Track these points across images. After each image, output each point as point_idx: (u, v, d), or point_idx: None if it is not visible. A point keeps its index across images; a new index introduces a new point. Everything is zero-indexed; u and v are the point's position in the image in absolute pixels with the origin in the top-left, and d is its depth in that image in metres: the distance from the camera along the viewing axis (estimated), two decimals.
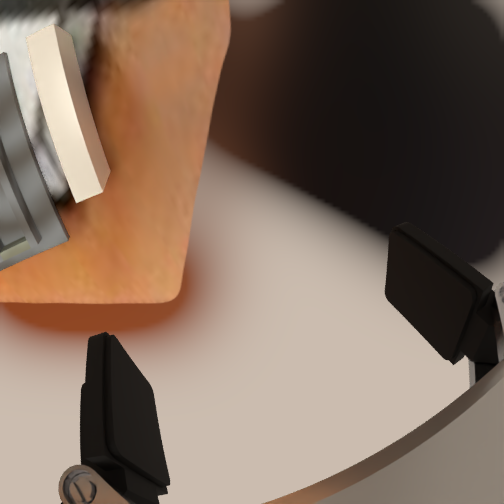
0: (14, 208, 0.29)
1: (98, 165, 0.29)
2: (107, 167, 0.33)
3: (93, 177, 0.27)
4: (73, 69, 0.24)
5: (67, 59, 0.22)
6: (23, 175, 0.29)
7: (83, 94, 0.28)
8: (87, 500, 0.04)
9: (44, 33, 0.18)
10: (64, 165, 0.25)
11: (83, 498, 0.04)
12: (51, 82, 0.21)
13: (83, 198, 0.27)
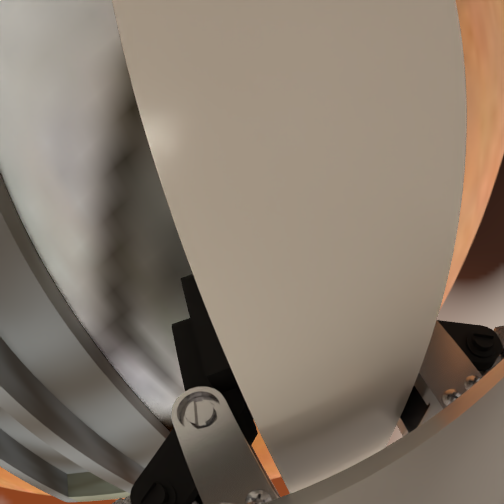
0: (93, 470, 0.12)
1: None
2: None
3: None
4: None
5: None
6: (92, 409, 0.13)
7: None
8: (199, 424, 0.06)
9: None
10: None
11: (195, 421, 0.06)
12: (359, 370, 0.04)
13: None
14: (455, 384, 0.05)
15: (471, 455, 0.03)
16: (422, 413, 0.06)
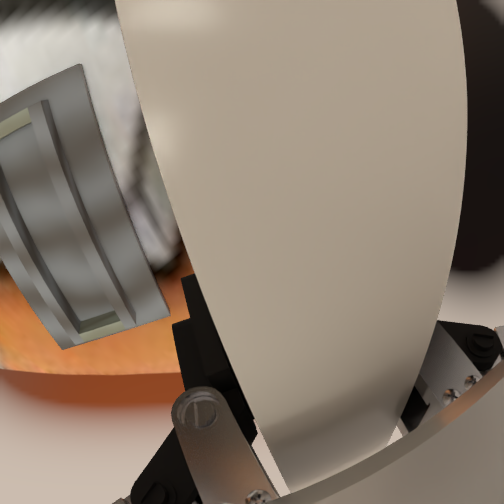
0: (105, 285, 0.26)
1: None
2: None
3: None
4: None
5: None
6: (113, 241, 0.27)
7: None
8: (199, 424, 0.06)
9: None
10: None
11: (195, 421, 0.06)
12: (360, 370, 0.04)
13: None
14: (455, 384, 0.05)
15: (471, 455, 0.03)
16: (422, 413, 0.06)
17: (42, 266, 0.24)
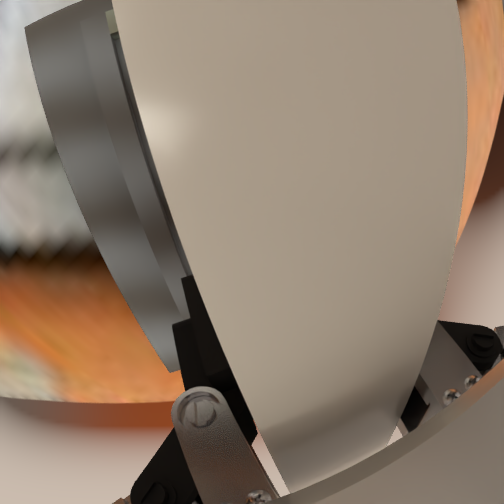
0: None
1: None
2: None
3: None
4: None
5: None
6: None
7: None
8: (199, 424, 0.06)
9: None
10: None
11: (195, 421, 0.06)
12: (360, 372, 0.04)
13: None
14: (455, 384, 0.05)
15: (471, 455, 0.03)
16: (422, 413, 0.06)
17: (178, 251, 0.18)
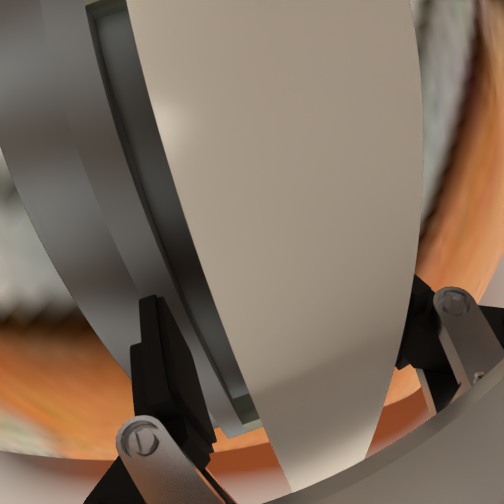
0: None
1: None
2: None
3: None
4: None
5: None
6: None
7: None
8: (144, 452, 0.05)
9: None
10: (298, 485, 0.09)
11: (140, 450, 0.05)
12: (338, 332, 0.05)
13: None
14: (503, 359, 0.05)
15: (471, 455, 0.03)
16: None
17: (195, 325, 0.13)
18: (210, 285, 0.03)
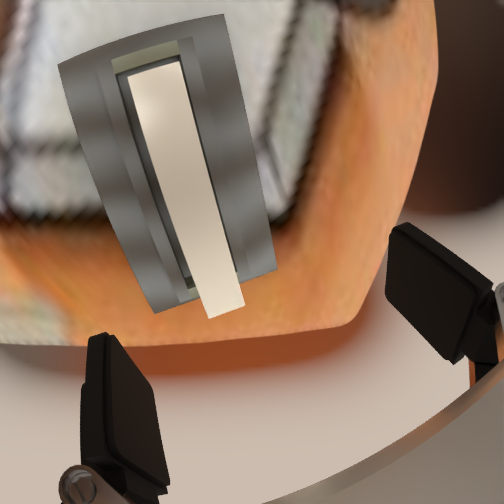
0: (231, 231, 0.28)
1: None
2: None
3: (235, 290, 0.24)
4: None
5: None
6: (239, 187, 0.28)
7: None
8: (87, 500, 0.04)
9: (163, 75, 0.15)
10: (196, 277, 0.22)
11: (84, 498, 0.04)
12: (179, 161, 0.18)
13: (219, 313, 0.24)
14: None
15: (471, 455, 0.03)
16: None
17: (159, 211, 0.26)
18: (146, 143, 0.17)
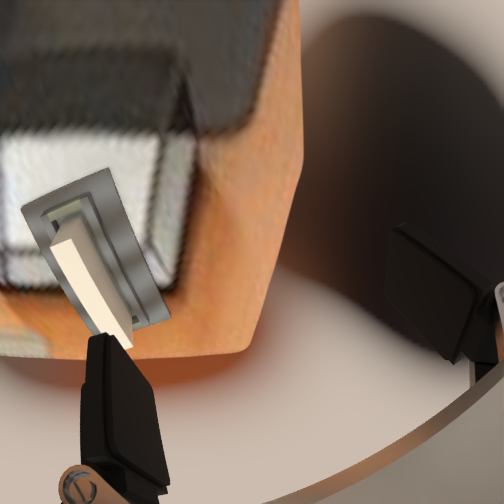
0: (130, 300, 0.44)
1: (126, 324, 0.41)
2: (129, 312, 0.46)
3: (125, 339, 0.40)
4: (92, 254, 0.37)
5: (87, 254, 0.35)
6: (135, 273, 0.44)
7: (103, 265, 0.40)
8: (87, 500, 0.04)
9: (65, 246, 0.31)
10: (103, 332, 0.38)
11: (84, 498, 0.04)
12: (82, 283, 0.34)
13: None
14: None
15: (471, 455, 0.03)
16: None
17: None
18: None
